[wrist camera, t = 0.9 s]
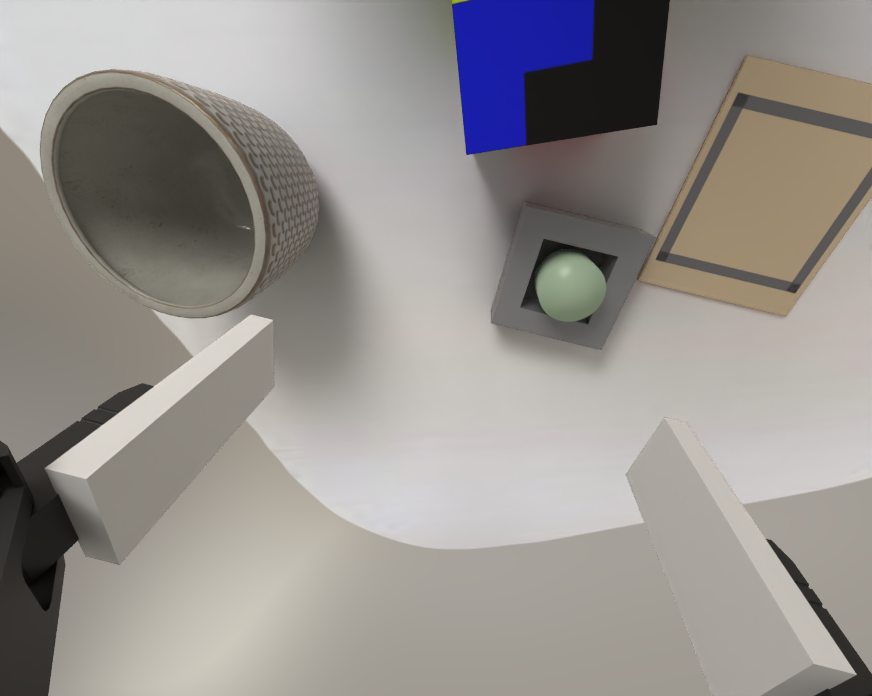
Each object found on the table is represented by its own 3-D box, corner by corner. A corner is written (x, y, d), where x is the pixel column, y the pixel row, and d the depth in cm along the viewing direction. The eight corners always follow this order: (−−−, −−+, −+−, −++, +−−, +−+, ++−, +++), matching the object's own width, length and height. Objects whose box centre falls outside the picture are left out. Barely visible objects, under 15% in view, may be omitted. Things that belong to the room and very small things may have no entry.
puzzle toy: (473, 153, 30) (466, 154, 22) (458, -10, 26) (443, -91, 17) (605, 132, 29) (657, 124, 20) (614, -47, 24) (685, -158, 15)
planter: (328, 287, 37) (257, 349, 26) (190, 238, 37) (56, 278, 25) (359, 133, 31) (283, 124, 19) (193, 69, 30) (12, 21, 19)
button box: (523, 201, 31) (526, 206, 29) (641, 229, 31) (655, 237, 29) (490, 310, 36) (491, 323, 34) (593, 335, 36) (601, 349, 33)
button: (545, 242, 31) (551, 252, 28) (604, 256, 31) (617, 268, 28) (526, 298, 34) (529, 313, 31) (581, 311, 34) (590, 328, 30)
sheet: (745, 56, 26) (748, 55, 25) (936, 100, 25) (941, 100, 25) (637, 279, 33) (638, 280, 33) (783, 314, 33) (785, 316, 33)
